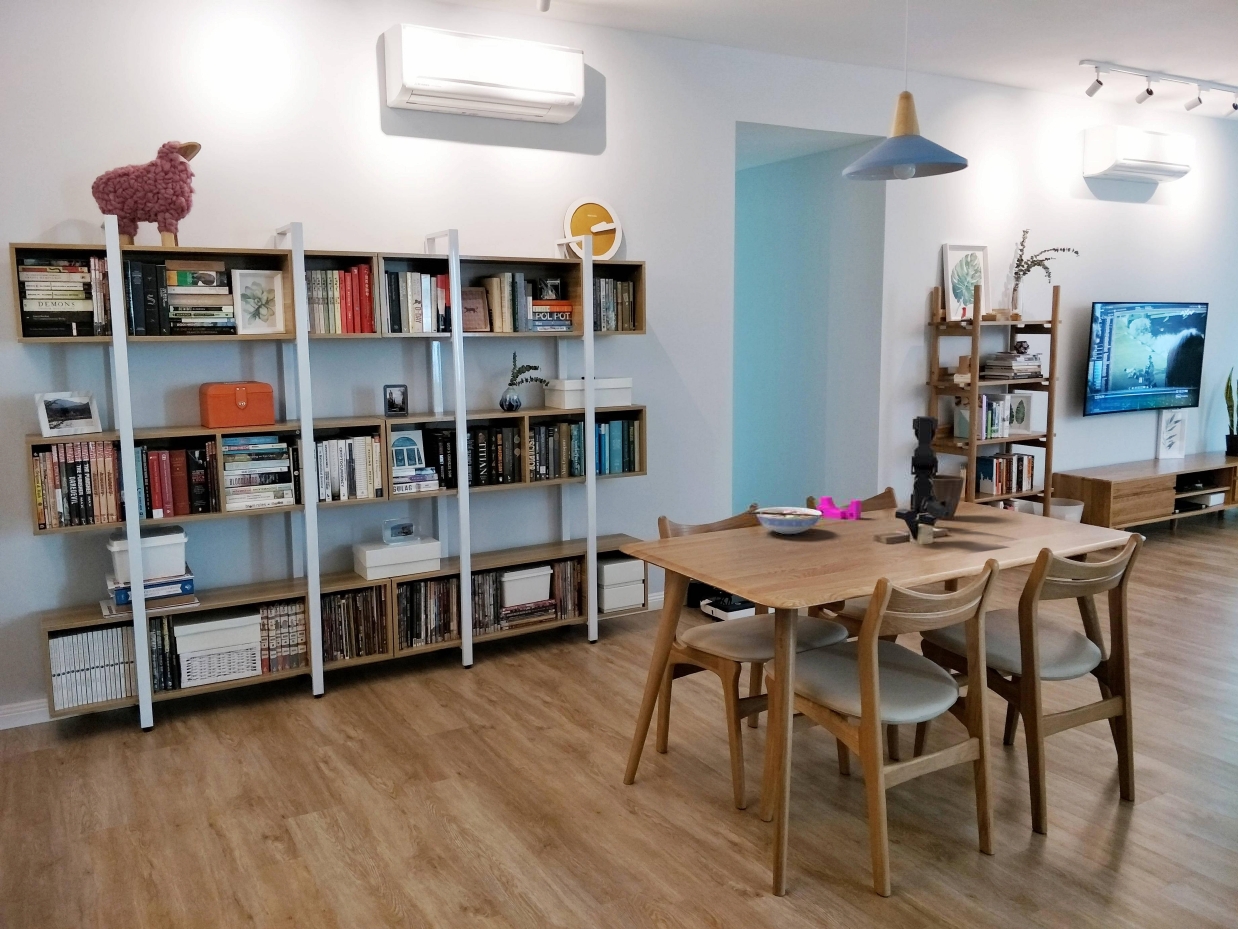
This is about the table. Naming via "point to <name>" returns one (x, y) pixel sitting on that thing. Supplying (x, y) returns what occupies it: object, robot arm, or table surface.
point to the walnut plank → (904, 535)
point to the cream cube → (922, 535)
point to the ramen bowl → (788, 519)
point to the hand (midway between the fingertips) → (921, 538)
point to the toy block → (833, 512)
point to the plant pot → (948, 491)
